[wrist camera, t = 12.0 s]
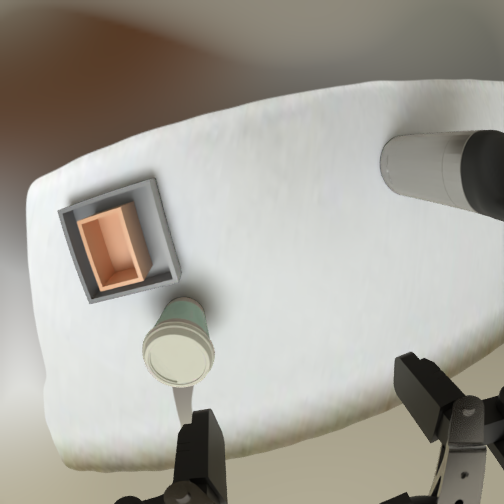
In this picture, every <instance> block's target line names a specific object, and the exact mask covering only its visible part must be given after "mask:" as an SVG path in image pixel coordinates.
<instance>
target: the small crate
mask: <svg viewBox="0 0 504 504" xmlns="http://www.w3.org/2000/svg"><path fill="white" fill-rule="evenodd" d="M77 224H78V227H79V231H80V234H81V237H82V240H83V243H84V247H85V250H86V253H87V256H88V258H89V261H90V264H91V267H92V270H93V273H94V275H95V278H96V281H97V283H98V286H99V289H100V291H105V290H109V289H113V288H117V287H121V286H125V285H129V284H133V283H137V282H141V281H144V280H145V278H146V276H147V274H148V273H149V271H150V269H151V268H152V266H153V264H152V261H151V258H150V255H149V252H148V248H147V245H146V242H145V239H144V235H143V232H142V229H141V225H140V222H139V218H138V215H137V211H136V208H135V204H134V201H132V202H129V203H126V204H123V205H119V206H116V207H113V208H110V209H107V210H104V211H101V212H98V213H95V214H93V215H90V216H88V217H86V218H83V219H81V220H79V221H77Z"/></svg>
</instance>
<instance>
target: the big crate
mask: <svg viewBox="0 0 504 504" xmlns="http://www.w3.org/2000/svg"><path fill="white" fill-rule="evenodd" d="M132 201H134V204H135V208H136V211H137V215H138V218H139V222H140V225H141V229H142V232H143V235H144V239H145V242H146V245H147V248H148V252H149V255H150V258H151V261H152V264H153V266H152V268H151V269H150V271H149V273H148V274H147V276H146V278H145V280H144V281H141V282H137V283H133V284H129V285H125V286H121V287H117V288H113V289H109V290H105V291H100V289H99V286H98V283H97V281H96V278H95V275H94V273H93V270H92V267H91V264H90V261H89V258H88V256H87V253H86V250H85V247H84V243H83V240H82V237H81V234H80V231H79V227H78V224H77V221H79V220H81V219H83V218H86V217H88V216H90V215H93V214H95V213H98V212H101V211H104V210H107V209H110V208H113V207H116V206H119V205H123V204H126V203H129V202H132ZM58 214H59V218H60V221H61V225H62V228H63V231H64V235H65V238H66V241H67V244H68V247H69V250H70V253H71V256H72V259H73V262H74V265H75V268H76V270H77V273H78V276H79V278H80V281H81V284H82V286H83V289H84V291H85V294H86V296H87V299H88V301H89V304H93V303H97V302H101V301H105V300H109V299H114V298H118V297H122V296H126V295H130V294H134V293H138V292H142V291H146V290H151V289H155V288H159V287H163V286H167V285H171V284H175V283H179V280H180V277H181V273H182V271H181V268H180V265H179V261H178V258H177V255H176V251H175V248H174V245H173V241H172V238H171V234H170V231H169V227H168V224H167V220H166V217H165V213H164V209H163V206H162V202H161V198H160V194H159V191H158V187H157V183H156V179H155V178H153V179H148V180H145V181H142V182H139V183H135V184H132V185H129V186H126V187H123V188H120V189H117V190H114V191H111V192H108V193H105V194H102V195H99V196H96V197H93V198H90V199H88V200H85V201H82V202H79V203H77V204H74V205H71V206H69V207H66V208H63V209H61V210H58Z"/></svg>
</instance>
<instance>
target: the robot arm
mask: <svg viewBox="0 0 504 504" xmlns="http://www.w3.org/2000/svg"><path fill="white" fill-rule="evenodd" d="M380 166H381V173H382V177H383V179H384V181H385V183H386V184H387V186H388V187H389V188H390V189H391V190H392V191H393V192H395V193H397V194H399V195H403V196H407V197H412V198H416V199H421V200H425V201H430V202H434V203H438V204H442V205H447V206H451V207H455V208H459V209H463V210H467V211H471V212H475V213H478V214H482V215H486V216H489V217H492V218H494V219H498V220H501V221H504V133H502V132H500V131H496V130H475V131H456V132H440V133H426V134H413V135H404V136H397V137H395V138H393V139H391V140H390V141H389V142H388V143H387V144H386V145H385V147H384V149H383V151H382V155H381V161H380ZM394 388H395V391H396V394H397V395H398V397H399V398H400V400H401V401H402V403H403V404H404V405H405V407H406V408H407V410H408V411H409V412H410V414H411V415H412V417H413V418H414V420H415V421H416V423H417V424H418V425H419V427H420V428H421V430H422V431H423V433H424V434H425V436H426V437H427V439H428V440H429V442H430V443H432V442H434V441H436V440H438V439H439V440H440V441H441V443H442V444H441V447H440V453H439V457H438V462H437V467H436V471H435V476H434V480H433V483H432V486H431V489H430V492H429V495H428V496H414V497H409V496H408V494H407V492H406V493H403V494H401V495H399V496H396V497H394V498H392V499H389V500H387V501H384V502H382V503H380V504H480V500H481V494H482V488H483V480H484V472H485V463H486V451H487V450H486V446H484V445H487V446H488V448H489V449H490V450H491V452H492V453H493V455H494V456H495V458H496V459H497V461H498V462H499V464H500V465H501V467H502V468H503V470H504V387H502V389H501V391H500V393H499V395H498V396H495V397H492V398H488V399H484V400H481V399H479V398H478V397H476V396H472V395H467V396H465V395H464V394H463V393H462V391H461V390H460V389H459V388H458V387H457V386H456V385H455V384H454V383H453V382H452V381H451V380H450V379H449V378H448V377H447V376H446V374H445V373H444V372H443V371H441V370H440V368H439V367H438V366H437V365H436V364H435V363H434V362H432V361H430V360H428V359H426V358H423V359H421V360H420V359H419V358H418V357H417V356H416V355H415V354H414V353H413V352H409V353H406V354H404V355H401V356H399V357H396V358H395V365H394ZM176 452H177V453H176V458H175V468H174V478H173V479H174V480H173V483H172V484H171V485H170V486H169V487H168V488H167V489H166V490H165V492H164V494H163V495H160V496H158V497H155V498H151V499H148V500H144V501H141V500H140V499H139V498H137V497H134V496H125V497H123V498H120V499H119V500H117V501H116V502H115V503H114V504H228V503H227V486H226V466H225V444H224V437H223V434H222V431H221V429H220V427H219V424H218V422H217V420H216V418H215V416H214V414H213V411H212V410H211V409H205V410H199V411H193V414H192V423H191V424H184V425H183V427H182V428H181V430H180V432H179V433H178V440H177V449H176Z"/></svg>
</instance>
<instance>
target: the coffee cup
mask: <svg viewBox="0 0 504 504" xmlns="http://www.w3.org/2000/svg"><path fill="white" fill-rule="evenodd" d="M142 353H143V359H144V361H145V365H146V367H147V369H148V371H149V372H150V374H151V375H152V376H153V377H154V378H155V379H157V380H158V381H160V382H161V383H163V384H166V385H168V386H172V387H189V386H192V385H195V384H197V383H199V382H200V381H202V380H203V379H204V378H205V376H206V375H207V374H208V372H209V371H210V370H211V368H212V365H213V362H214V358H215V351H214V347H213V344H212V342H211V340H210V338H209V334H208V329H207V324H206V319H205V314H204V310H203V308H202V306H201V305H200V304H199V303H198V302H197V301H195V300H194V299H191V298H188V297H179V298H176V299H174V300H172V301H171V302H170V303H169V304H168V305H167V307H166V308H165V310H164V311H163V313H162V315H161V316H160V318H159V320H158V321H157V323H156V325H155V326H154V328H153V329H151V330H150V331H149V332H148V334H147V335H146V337H145V339H144V341H143V350H142Z"/></svg>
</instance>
